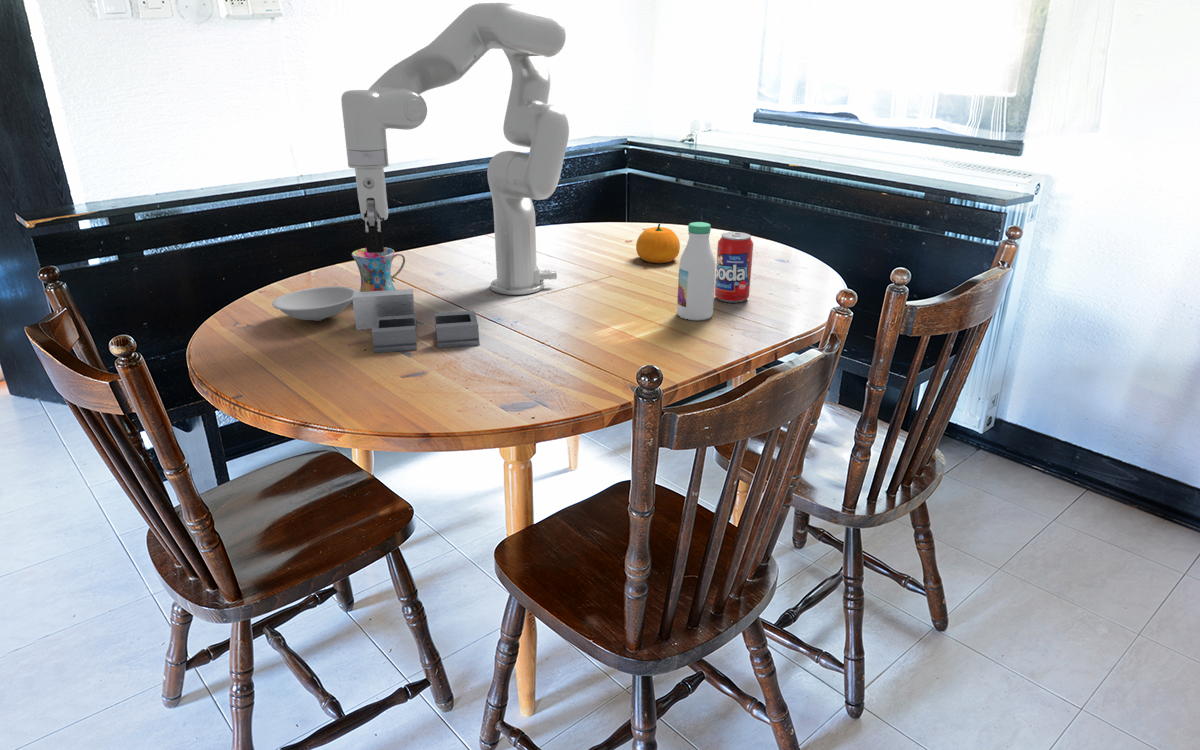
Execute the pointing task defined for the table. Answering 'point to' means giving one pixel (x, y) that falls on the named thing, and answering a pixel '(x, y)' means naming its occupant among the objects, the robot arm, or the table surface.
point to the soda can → (733, 267)
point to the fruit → (658, 245)
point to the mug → (376, 269)
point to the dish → (315, 302)
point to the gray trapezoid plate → (381, 305)
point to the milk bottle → (696, 275)
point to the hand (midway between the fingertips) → (376, 246)
